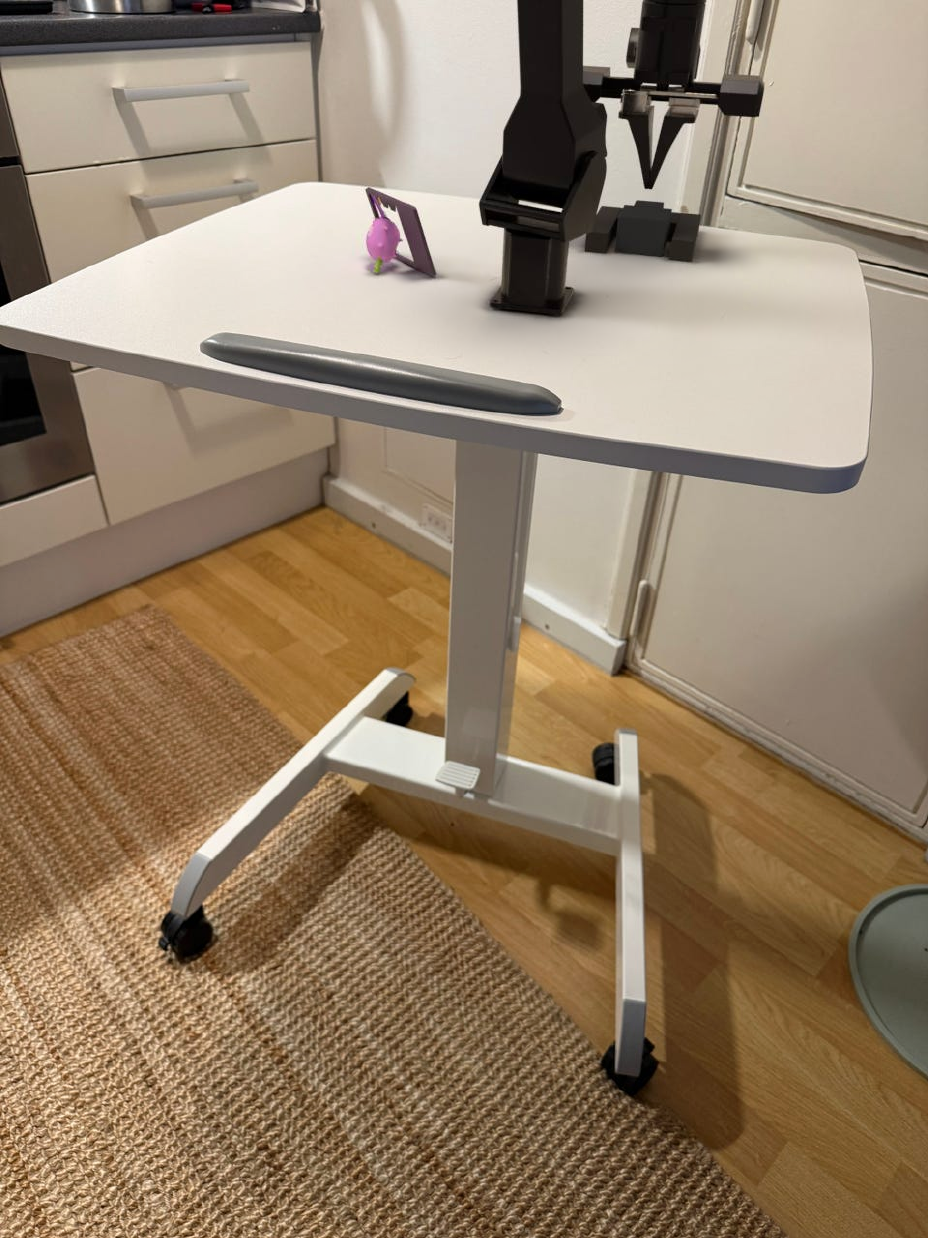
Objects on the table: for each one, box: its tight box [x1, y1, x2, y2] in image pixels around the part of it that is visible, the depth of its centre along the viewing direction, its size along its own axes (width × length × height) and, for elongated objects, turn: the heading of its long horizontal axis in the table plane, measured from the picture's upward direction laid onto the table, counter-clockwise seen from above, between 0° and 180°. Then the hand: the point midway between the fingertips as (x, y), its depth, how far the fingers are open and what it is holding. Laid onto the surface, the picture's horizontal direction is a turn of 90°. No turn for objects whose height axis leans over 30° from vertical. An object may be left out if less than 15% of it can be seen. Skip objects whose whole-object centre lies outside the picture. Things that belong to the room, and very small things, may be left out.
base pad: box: [583, 205, 702, 262], centre depth 96 cm, size 11×11×2 cm
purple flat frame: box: [365, 186, 437, 278], centre depth 86 cm, size 7×5×9 cm
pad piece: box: [614, 199, 673, 257], centre depth 95 cm, size 8×5×4 cm, turn 165°
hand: (648, 188), depth 91 cm, fingers closed
